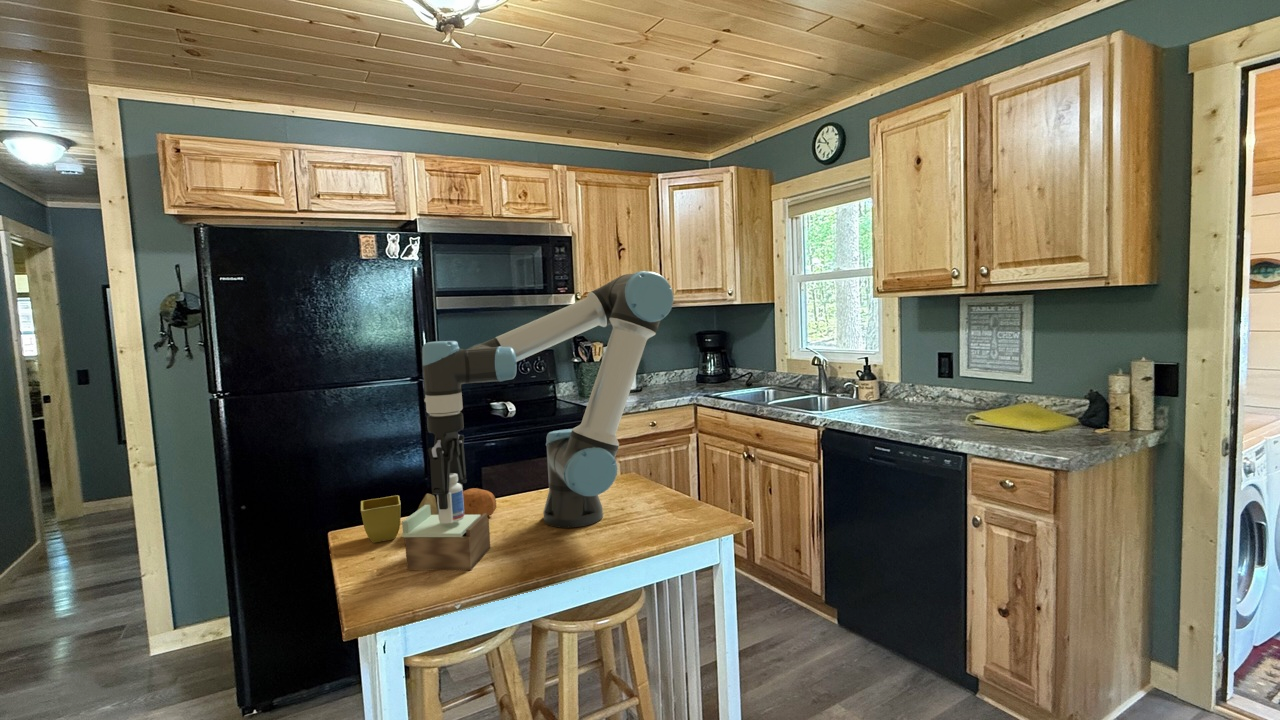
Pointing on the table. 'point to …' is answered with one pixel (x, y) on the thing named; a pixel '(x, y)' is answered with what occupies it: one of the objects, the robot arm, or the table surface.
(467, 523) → the lid
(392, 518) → the flower pot
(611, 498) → the table surface
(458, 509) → the pill bottle
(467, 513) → the potato
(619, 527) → the table surface
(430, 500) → the rock
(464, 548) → the box
